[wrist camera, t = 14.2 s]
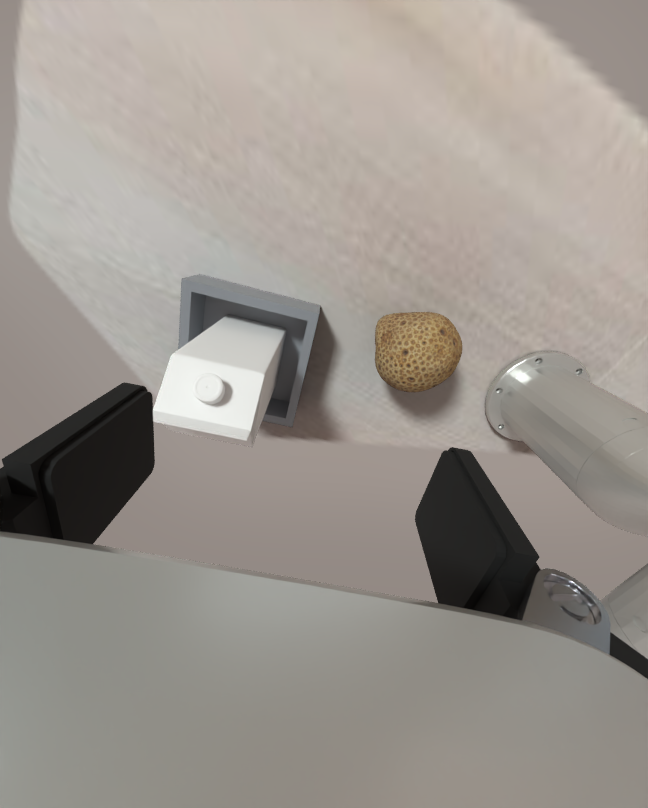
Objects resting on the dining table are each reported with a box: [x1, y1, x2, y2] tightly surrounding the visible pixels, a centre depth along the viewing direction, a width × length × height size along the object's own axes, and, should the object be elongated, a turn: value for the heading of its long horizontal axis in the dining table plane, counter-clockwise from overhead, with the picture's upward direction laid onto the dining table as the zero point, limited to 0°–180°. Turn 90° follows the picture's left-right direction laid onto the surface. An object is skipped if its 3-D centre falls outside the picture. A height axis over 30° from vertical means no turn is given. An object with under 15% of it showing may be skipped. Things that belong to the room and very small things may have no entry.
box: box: [178, 274, 320, 427], centre depth 38 cm, size 14×14×5 cm
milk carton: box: [153, 315, 286, 447], centre depth 31 cm, size 7×7×19 cm
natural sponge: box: [375, 312, 462, 392], centre depth 35 cm, size 9×9×10 cm
